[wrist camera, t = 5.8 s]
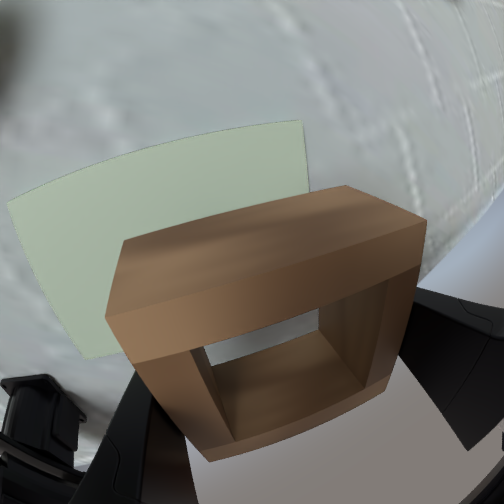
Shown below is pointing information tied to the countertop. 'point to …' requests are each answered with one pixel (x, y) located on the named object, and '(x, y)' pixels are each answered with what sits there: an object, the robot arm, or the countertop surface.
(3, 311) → the countertop surface
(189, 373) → the link
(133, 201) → the keeper board
